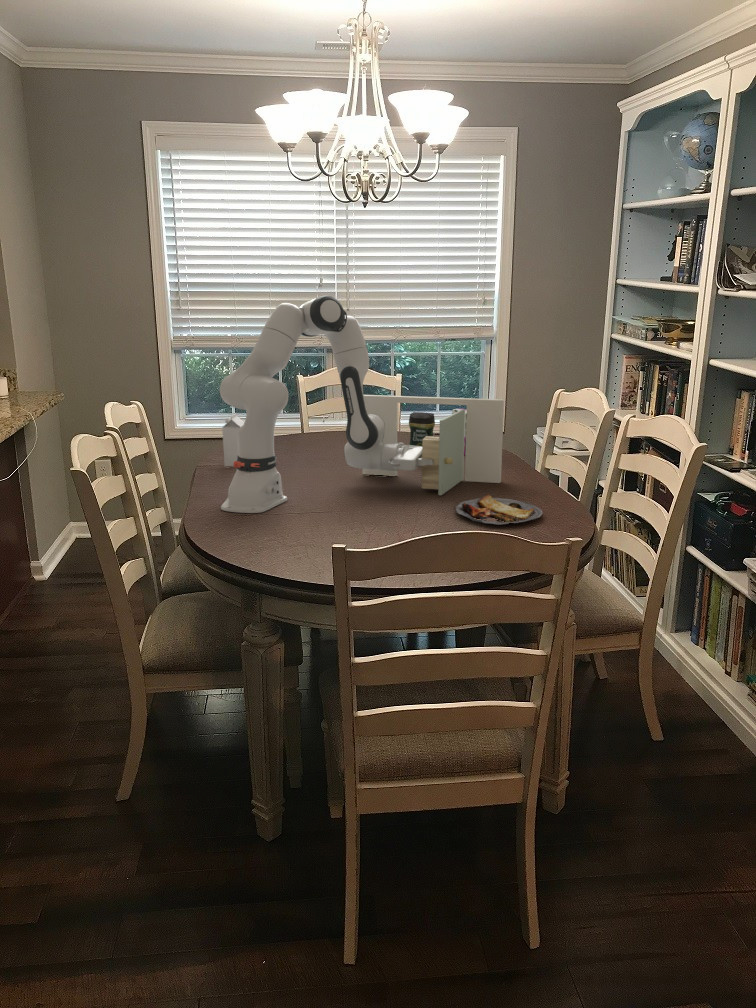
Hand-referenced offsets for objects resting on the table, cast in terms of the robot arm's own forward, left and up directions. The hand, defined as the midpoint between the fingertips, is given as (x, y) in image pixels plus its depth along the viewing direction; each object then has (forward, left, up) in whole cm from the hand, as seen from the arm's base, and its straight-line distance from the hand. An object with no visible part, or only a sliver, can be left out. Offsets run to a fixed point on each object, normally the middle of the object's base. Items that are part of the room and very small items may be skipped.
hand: (434, 459), depth 260 cm
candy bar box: (+59, -1, -11) cm, 60 cm away
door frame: (+15, +4, -10) cm, 19 cm away
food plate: (-23, -23, -11) cm, 34 cm away
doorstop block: (0, +1, -9) cm, 9 cm away
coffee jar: (+39, +12, -11) cm, 43 cm away
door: (+4, -6, -10) cm, 12 cm away
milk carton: (+17, +77, -11) cm, 80 cm away
